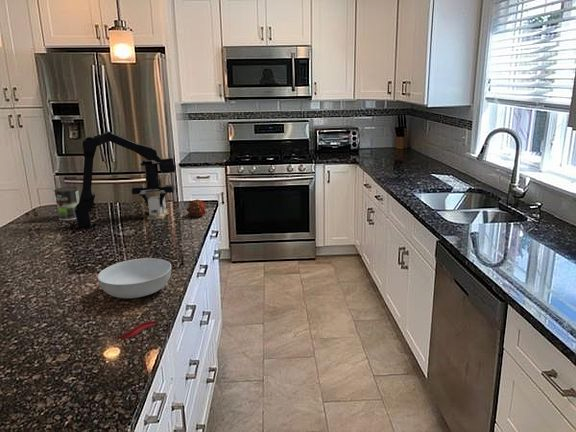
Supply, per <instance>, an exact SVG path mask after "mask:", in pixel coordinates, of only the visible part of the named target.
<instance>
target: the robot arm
mask: <svg viewBox="0 0 576 432" xmlns="http://www.w3.org/2000/svg"><path fill="white" fill-rule="evenodd" d="M109 142H110V143H112V144H116V145H117V146H120V147H123V148H125V149H128V150H130V151H132V152H135V154H138V156H139V155H140V156H141V157H142V158H143V159H142V161H141V162H140V163H139V165H140V167H144V173H145V185H146V187H144V186H143V185H135V186H133V187H132V188H131V195H139V196H141V197H142V198H143V200H144V202H145V203H146V206H148V199H149V198H150V196H149V192H160V193H159V197H160V207H162V204H163V199H164V197H165V196H166V195H167V194H169V193H171V194H173V193H174V192H175V190H176V187H175V185H174V184H165V185H164V186H162V179H160V177H159V172H161V174H172V173H175V172H176V168H175V167H176V166H175V163H174V158H173V157H168V158H161V157H160V156H159V155H158V153H157V150H156V149H155V148H154V147H152V146H150V145H144V144H141V143H136V142H134V141H131V140H129V139H127V138H125V137H123V136H120V135H118V134H115V133H113V132H111V131H105V132H104V133H100V134H97V135H94V136H91V135H89V136H85V137H84V138H83V140H82V150H83V158H84V162H83V176H82V178H83V179H82V189H81V190H80V191H81V192H80V194H79V203H78V204H77V206H76V207H75V211H74V212H75V214H76V219H75V220H76V226H74V229H88V228H89V229H90V228H91V227H92V226H93V225H94V224H95V223H94V222H92V221H91V215H90V214H91V213H90V210H91V209H92V208H93V206H94V205H95V197H96V192H92V183H93V171H94V170H93V168H94V158H95V155H96V151H97V147H98V146H102V145H103V144H106V143H109ZM144 159H145V160H144ZM153 161H154V162H153Z"/></svg>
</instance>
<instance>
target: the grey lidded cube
mask: <svg viewBox="0 0 576 432" xmlns="http://www.w3.org/2000/svg"><path fill="white" fill-rule="evenodd" d="M147 207H148V214H149V215H150V214H152V213H153V212H154V210H158V214H161V212H162V207H160V196H149V199H148V205H147Z"/></svg>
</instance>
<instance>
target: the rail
mask: <svg viewBox="0 0 576 432" xmlns="http://www.w3.org/2000/svg"><path fill="white" fill-rule="evenodd" d="M166 207H167V205H166V197H165V196H164V199H163V204H162V212H161V214H158V210H154V212H153V213H152V214H149V215H148V216H147V217H146V221H161V220H164V218H165V217H166V215H167V213H169V208H166Z"/></svg>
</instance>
